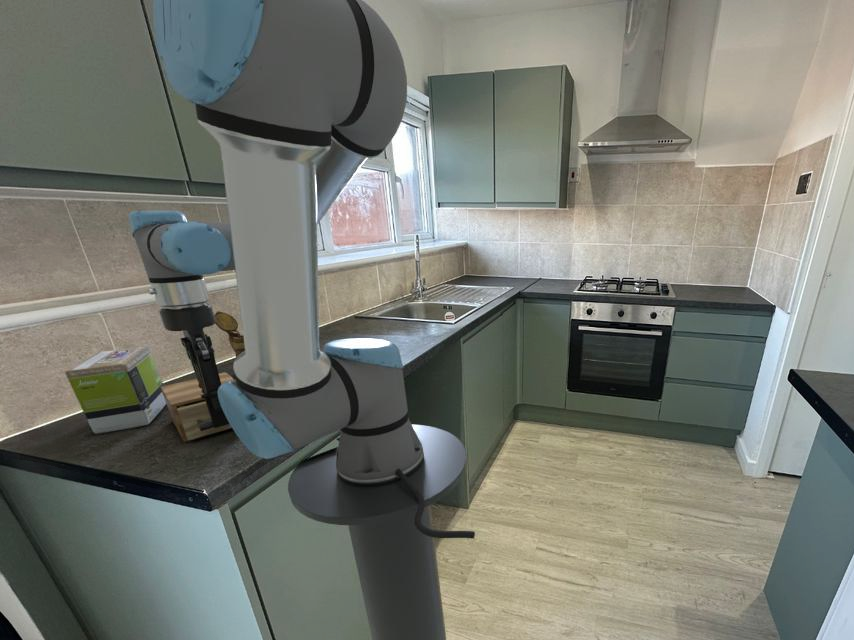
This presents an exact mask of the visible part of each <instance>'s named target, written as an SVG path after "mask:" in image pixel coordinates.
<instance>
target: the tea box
mask: <svg viewBox="0 0 854 640" xmlns="http://www.w3.org/2000/svg"><path fill="white" fill-rule="evenodd" d="M64 373H65V376H66V378H67V381H68V382H69V384H70V387H71V388H72V391H73V393H74V395H75V397H76V399H77V401H78V403H79V405H80V408H81V410H82V412H83V414H84V416H85V417H86V421H87V422H88V425H89V427H90V428H91V431H92V433H93V434H95V435H98V434H104V433H109V432H114V431H115V432H116V431H121V430H129V429H133V428H139V427H144V426H148V425H150V424H151V423H152V421H153V420H154V419H155V418H156V417H157V415H158V414H159V413H160V412H161V411H162V410H163V409H164V408H165V406H167V404H166V401H165V398H164V396H163V393H162V390H161V386H165V385H164V383H163V380H162V376H161V375H160V373H159V370H158V367H157V364H156V362H155V359H154V357H153V354H152V351H151V349H150V347H149V346H148V345H146V346H138V347H131V348H130V347H129V348H122V349H121V348H120V349H113V350H106V351H97V352H95V353H94V354H92V355H91V356H89V357H86V359H84V360H82V361H80V362H79V363H77V364H75V365H73V366H71V367H70V368H69V369H67V370H65V371H64Z"/></svg>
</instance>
